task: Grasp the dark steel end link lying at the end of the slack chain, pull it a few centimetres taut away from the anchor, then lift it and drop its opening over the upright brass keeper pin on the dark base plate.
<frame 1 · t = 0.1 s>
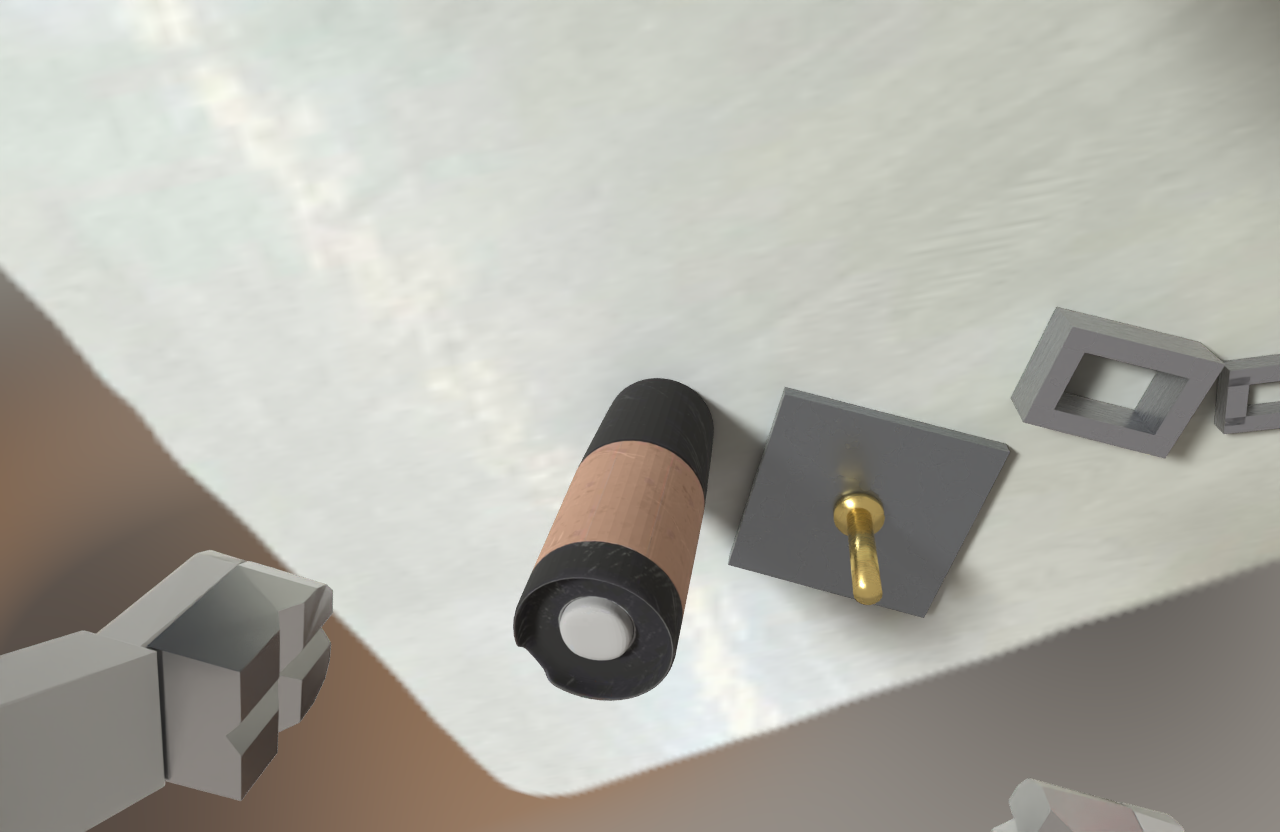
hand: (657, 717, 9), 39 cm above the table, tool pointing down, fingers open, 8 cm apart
keeper: (857, 504, 52), on the table
end link: (1101, 371, 45), on the table
travel mug: (661, 424, 52), on the table
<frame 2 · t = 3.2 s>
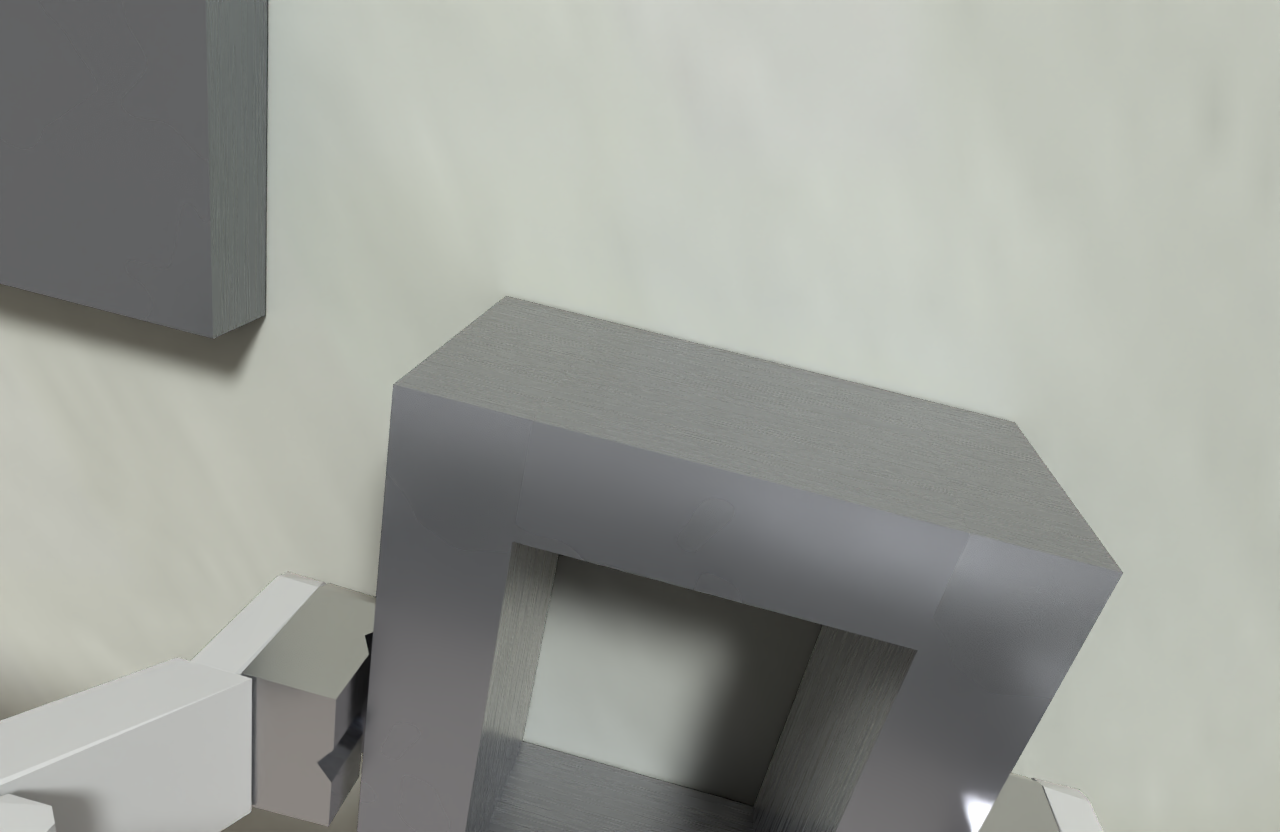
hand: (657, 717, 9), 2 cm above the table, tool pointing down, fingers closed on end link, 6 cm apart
end link: (678, 628, 11), on the table, touching gripper
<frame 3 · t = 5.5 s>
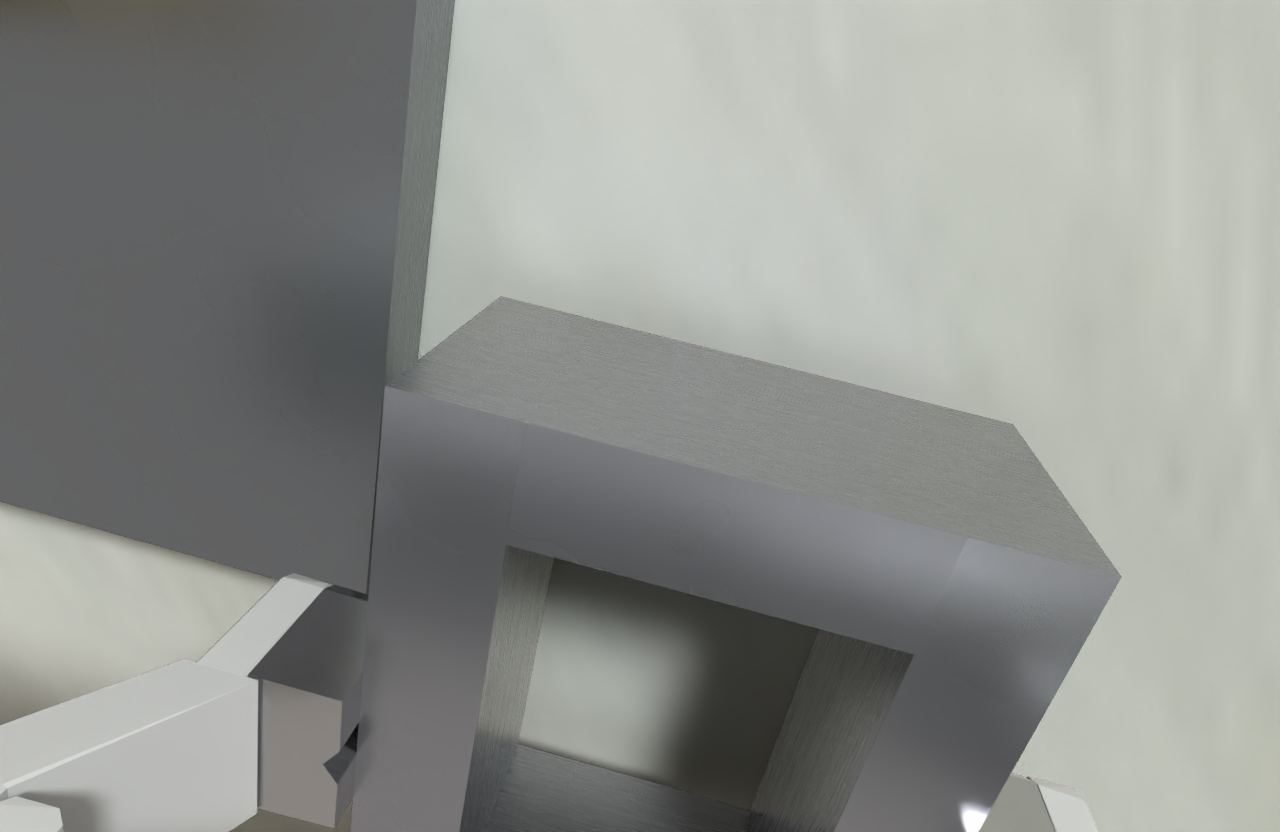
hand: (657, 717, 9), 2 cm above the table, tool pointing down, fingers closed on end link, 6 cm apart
end link: (674, 631, 11), point 1 cm above the table, touching gripper
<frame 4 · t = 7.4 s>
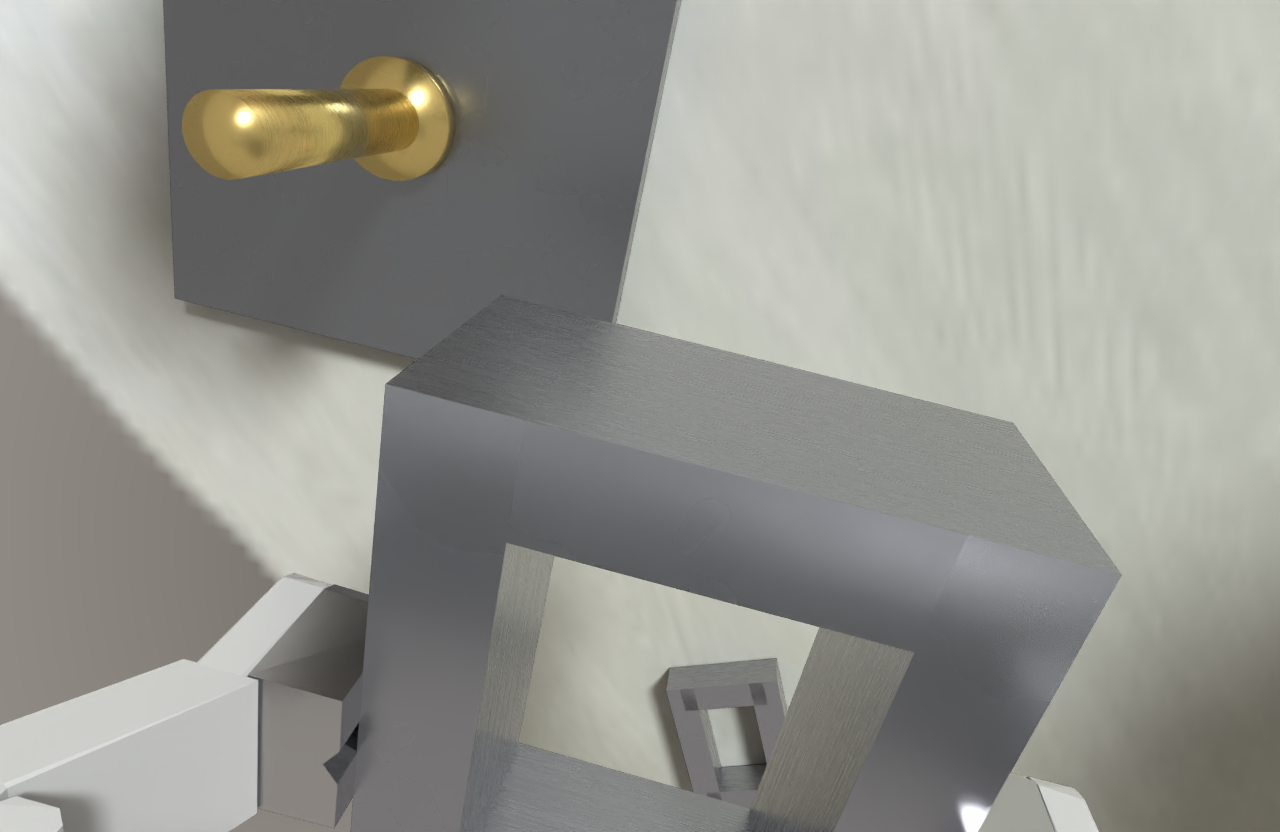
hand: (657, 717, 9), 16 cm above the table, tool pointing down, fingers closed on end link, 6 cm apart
keeper: (414, 118, 23), on the table
end link: (674, 629, 11), point 15 cm above the table, touching gripper
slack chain: (751, 788, 31), on the table
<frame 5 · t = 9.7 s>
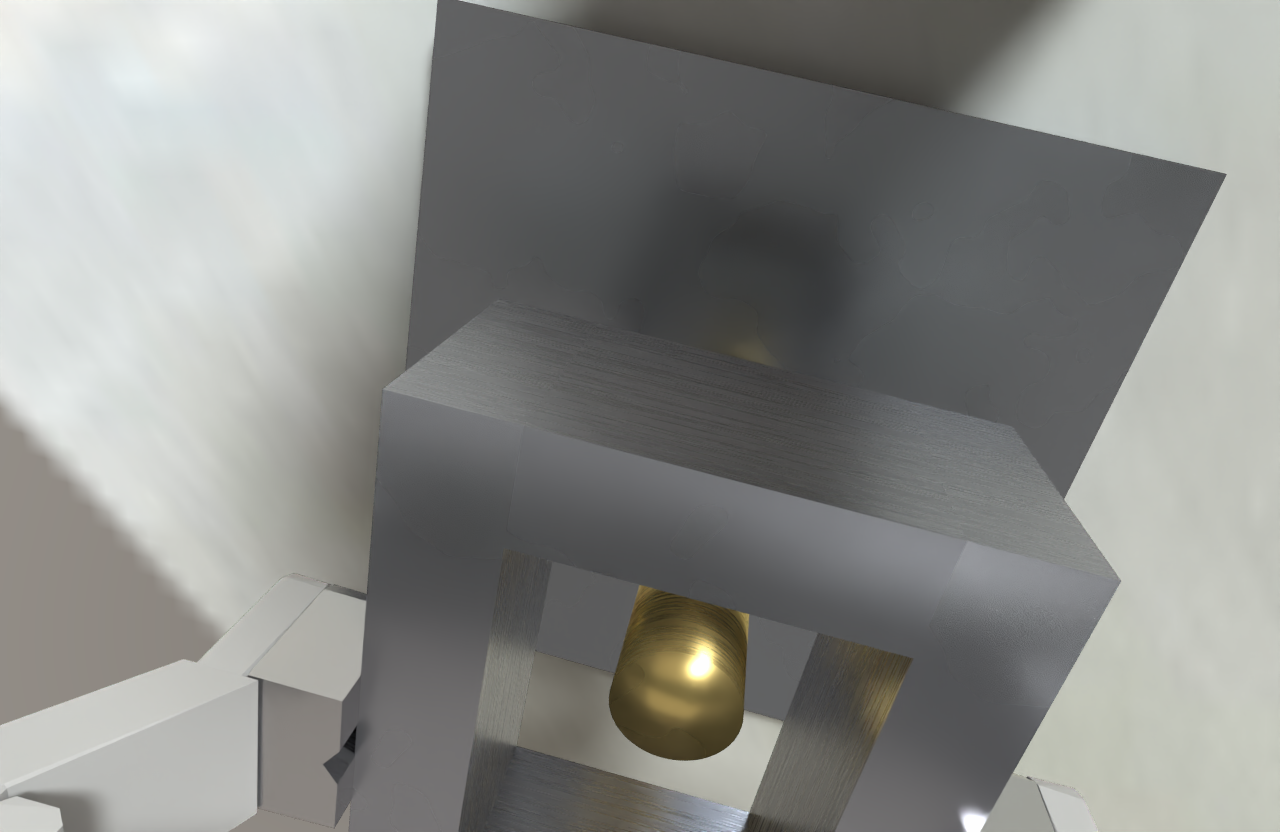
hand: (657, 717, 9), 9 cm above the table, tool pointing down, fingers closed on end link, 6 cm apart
keeper: (724, 416, 17), on the table
end link: (673, 633, 11), point 8 cm above the table, touching gripper
when the fingers open (4 cm above the table, at t = 11.6 s): end link drops 1 cm, resting on keeper.
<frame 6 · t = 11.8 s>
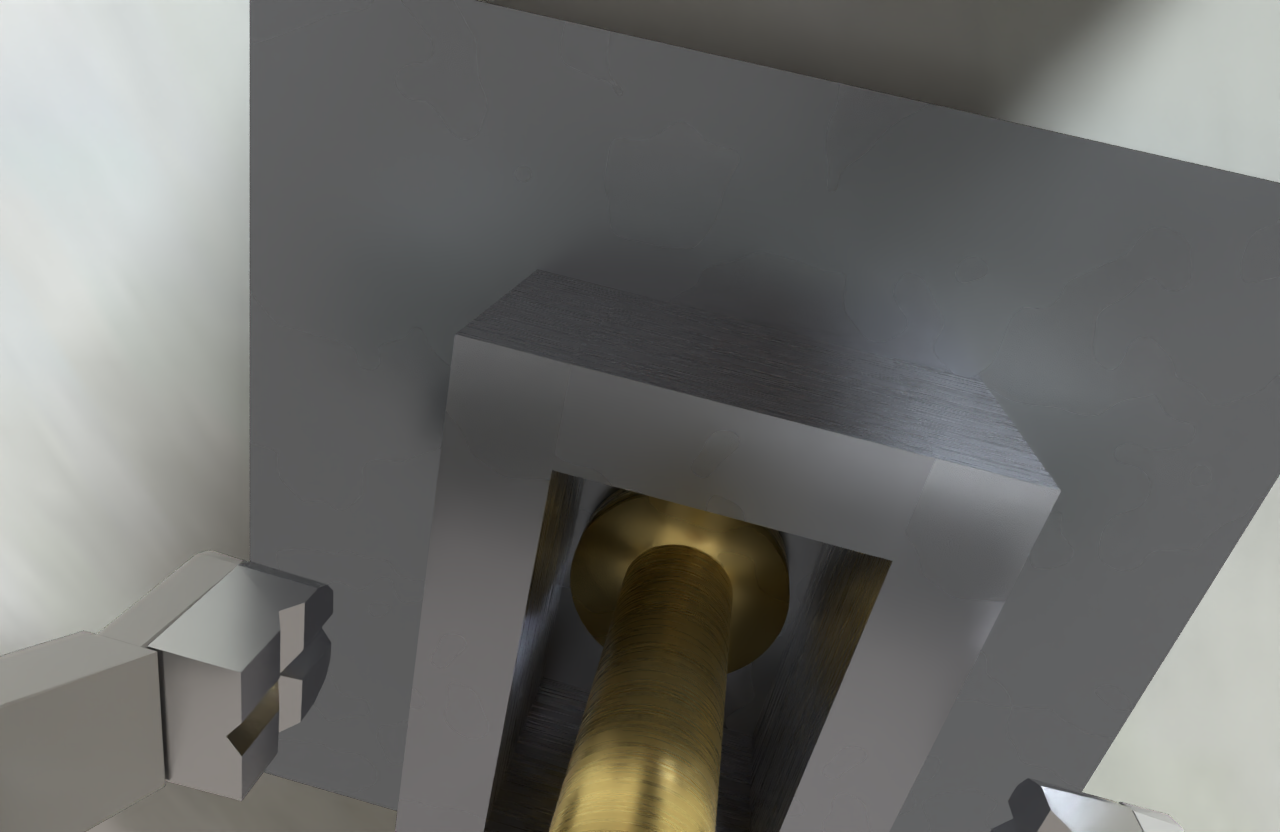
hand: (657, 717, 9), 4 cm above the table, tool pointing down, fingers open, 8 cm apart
keeper: (688, 534, 13), on the table
end link: (685, 570, 12), point 1 cm above the table, touching keeper
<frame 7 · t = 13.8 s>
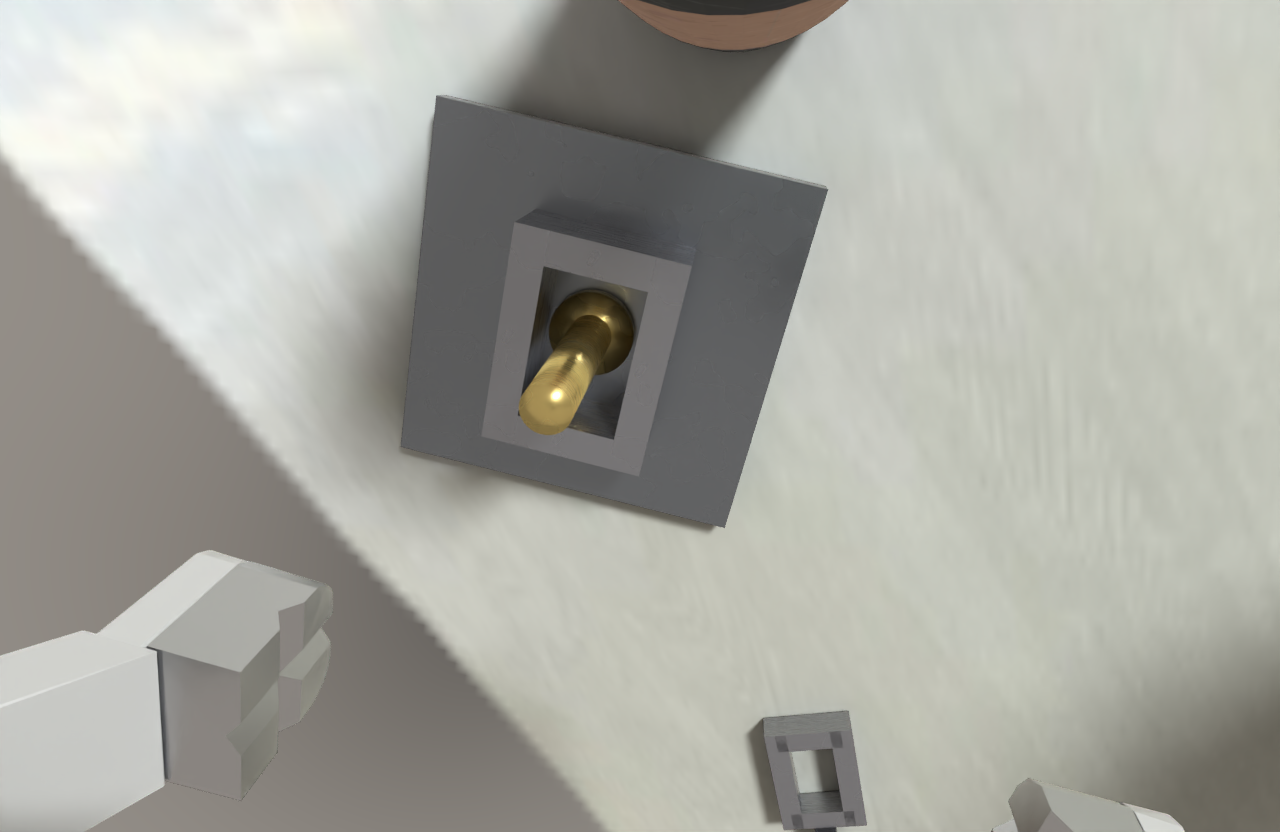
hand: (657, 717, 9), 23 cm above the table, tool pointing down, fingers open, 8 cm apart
keeper: (597, 323, 31), on the table
end link: (594, 331, 30), point 1 cm above the table, touching keeper
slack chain: (823, 810, 39), on the table
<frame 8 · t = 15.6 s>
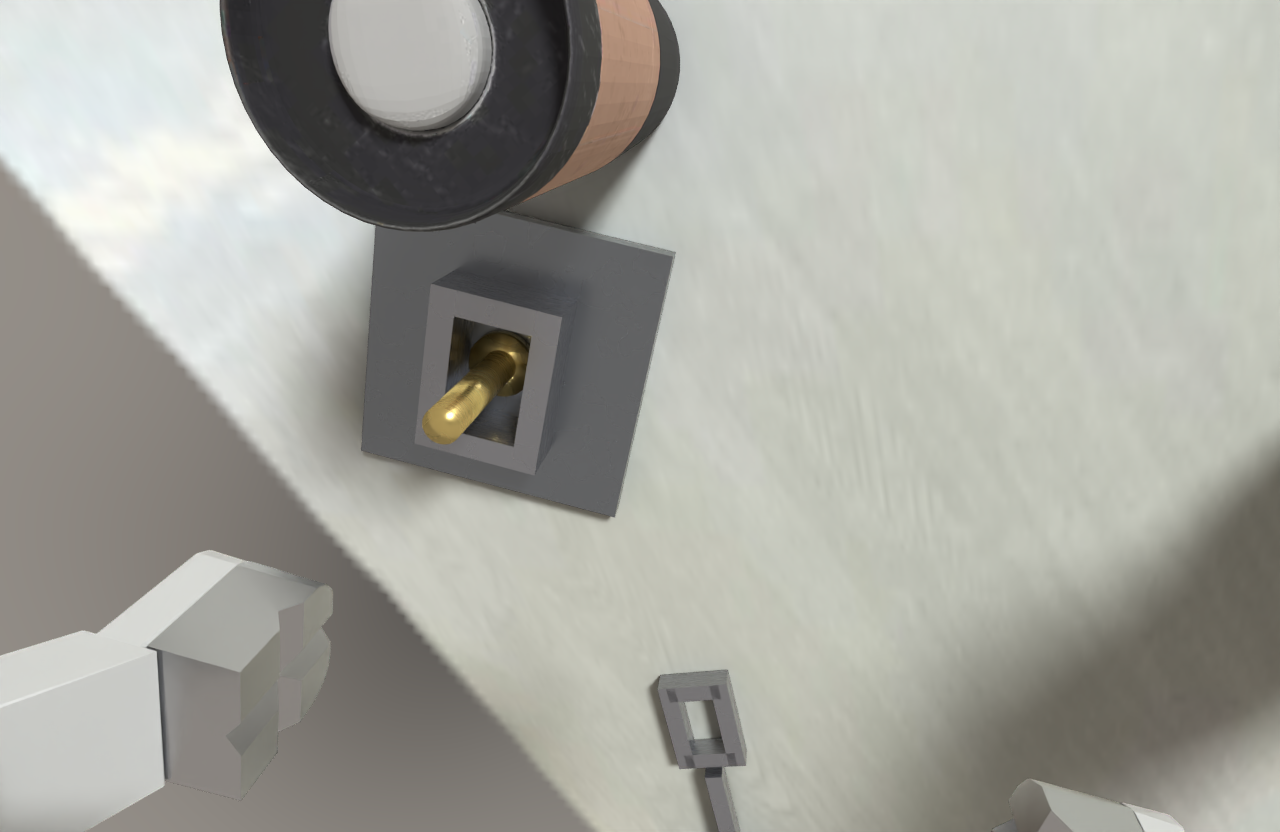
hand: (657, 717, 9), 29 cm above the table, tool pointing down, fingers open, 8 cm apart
keeper: (510, 355, 39), on the table
end link: (505, 362, 39), point 1 cm above the table, touching keeper
travel mug: (599, 65, 34), on the table
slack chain: (714, 754, 48), on the table
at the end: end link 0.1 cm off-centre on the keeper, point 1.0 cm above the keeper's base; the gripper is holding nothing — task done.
